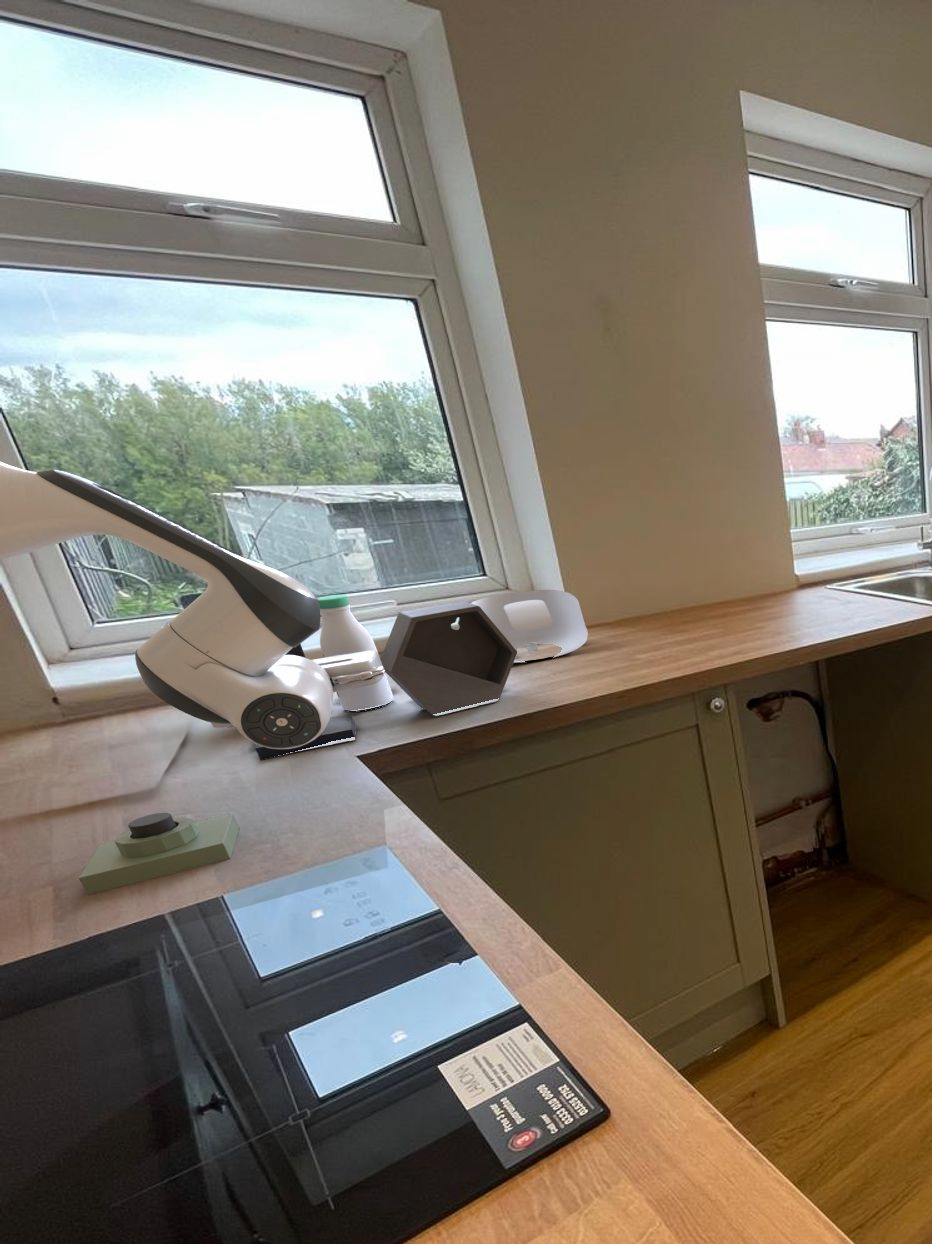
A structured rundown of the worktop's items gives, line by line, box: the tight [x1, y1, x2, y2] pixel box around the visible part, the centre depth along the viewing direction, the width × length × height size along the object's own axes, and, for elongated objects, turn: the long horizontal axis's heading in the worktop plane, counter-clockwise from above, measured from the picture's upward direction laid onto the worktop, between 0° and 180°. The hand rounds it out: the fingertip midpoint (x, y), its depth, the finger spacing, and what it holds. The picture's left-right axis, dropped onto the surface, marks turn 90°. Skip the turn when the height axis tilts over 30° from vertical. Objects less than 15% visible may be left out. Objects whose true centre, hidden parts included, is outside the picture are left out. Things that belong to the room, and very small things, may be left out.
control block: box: [78, 813, 240, 895], centre depth 95 cm, size 12×10×4 cm
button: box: [127, 812, 177, 839], centre depth 94 cm, size 4×4×2 cm
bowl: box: [471, 589, 589, 663], centre depth 177 cm, size 20×19×12 cm
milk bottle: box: [317, 594, 394, 711], centre depth 144 cm, size 8×8×20 cm
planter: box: [380, 600, 517, 716], centre depth 143 cm, size 17×8×21 cm
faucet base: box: [255, 713, 356, 761], centre depth 128 cm, size 12×10×20 cm
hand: (295, 667), depth 116 cm, fingers open, 8 cm apart
